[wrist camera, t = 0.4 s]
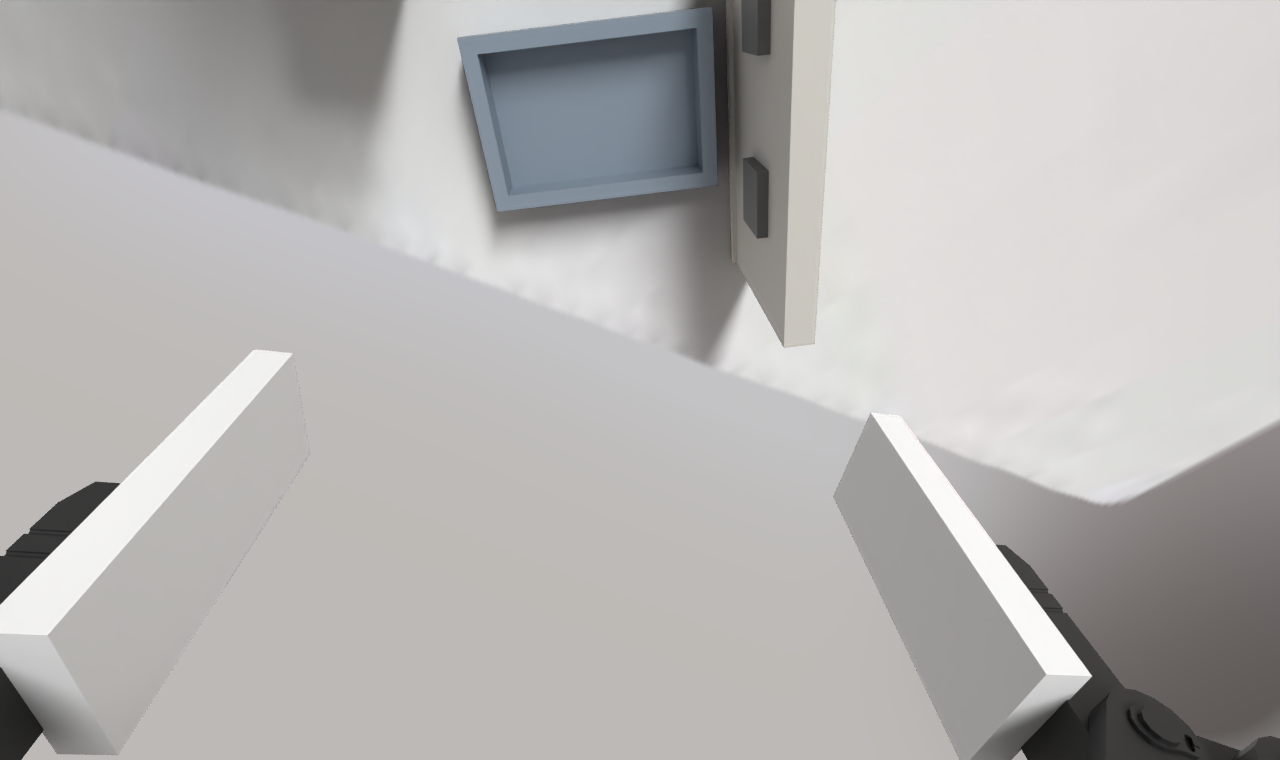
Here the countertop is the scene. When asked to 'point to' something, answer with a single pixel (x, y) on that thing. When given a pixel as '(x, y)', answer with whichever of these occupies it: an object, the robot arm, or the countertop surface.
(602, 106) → the dock
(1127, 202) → the countertop surface
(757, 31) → the plate
